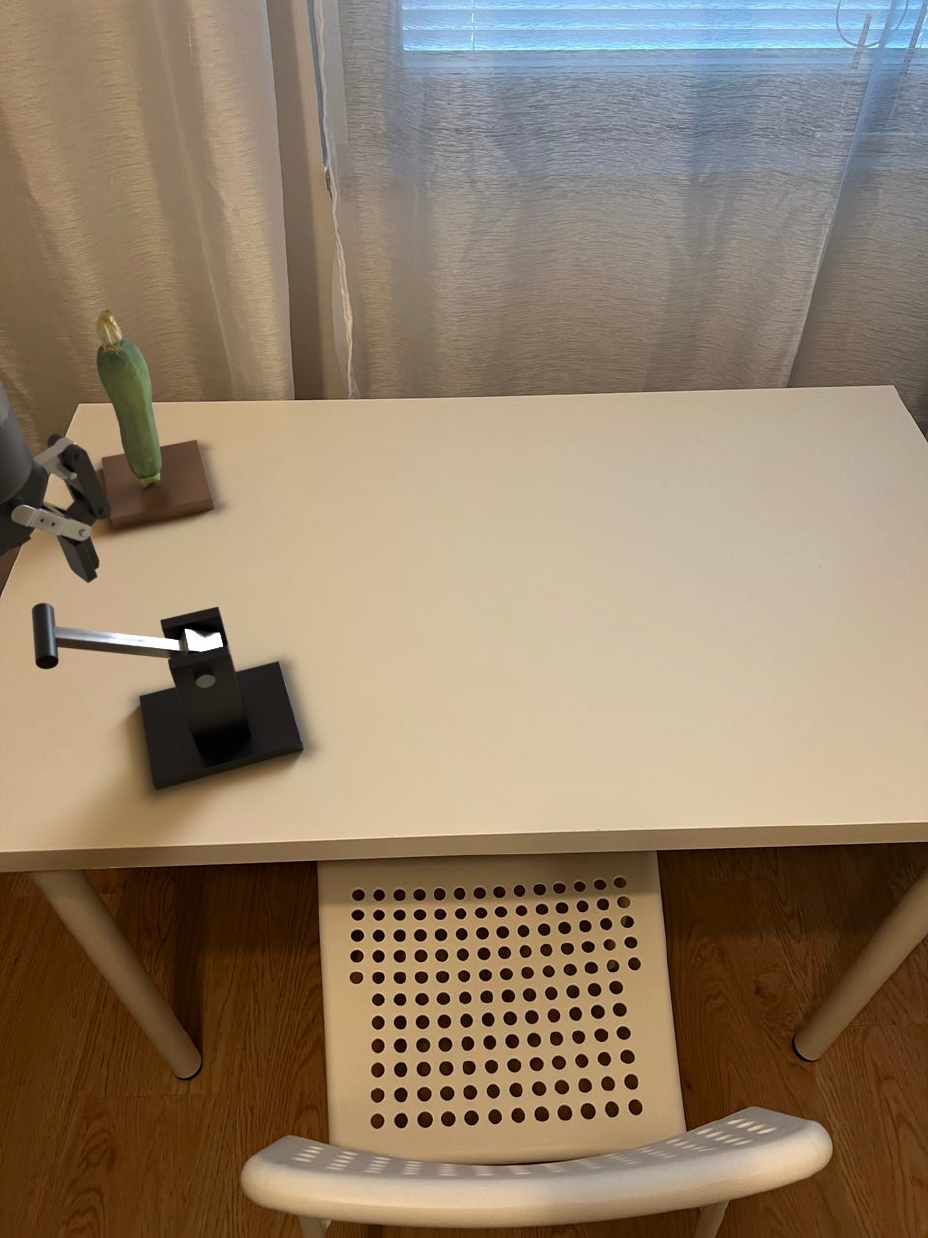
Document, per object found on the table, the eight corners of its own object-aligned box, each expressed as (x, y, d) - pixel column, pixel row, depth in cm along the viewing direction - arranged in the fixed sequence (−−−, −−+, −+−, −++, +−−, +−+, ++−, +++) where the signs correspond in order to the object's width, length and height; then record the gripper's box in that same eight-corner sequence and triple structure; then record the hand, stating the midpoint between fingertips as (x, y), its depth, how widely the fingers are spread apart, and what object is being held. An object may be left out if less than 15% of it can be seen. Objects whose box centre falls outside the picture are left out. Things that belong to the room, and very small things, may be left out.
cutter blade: (31, 673, 63) (40, 649, 62) (27, 620, 67) (36, 596, 65) (217, 688, 71) (228, 667, 70) (206, 640, 74) (216, 619, 73)
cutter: (155, 791, 75) (118, 704, 66) (142, 703, 80) (105, 612, 71) (304, 750, 77) (287, 661, 68) (281, 669, 83) (262, 576, 74)
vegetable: (131, 469, 98) (76, 292, 83) (173, 462, 99) (127, 286, 84) (134, 496, 95) (78, 319, 80) (178, 489, 96) (131, 312, 81)
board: (114, 530, 94) (110, 519, 93) (104, 468, 100) (101, 457, 99) (215, 509, 96) (212, 498, 95) (199, 450, 102) (196, 439, 101)
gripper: (-158, 510, 46) (-32, 706, 58) (87, 379, 53) (153, 577, 65) (-233, 447, 49) (-98, 645, 61) (9, 331, 56) (86, 529, 68)
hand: (32, 610), depth 63 cm, fingers open, 8 cm apart
